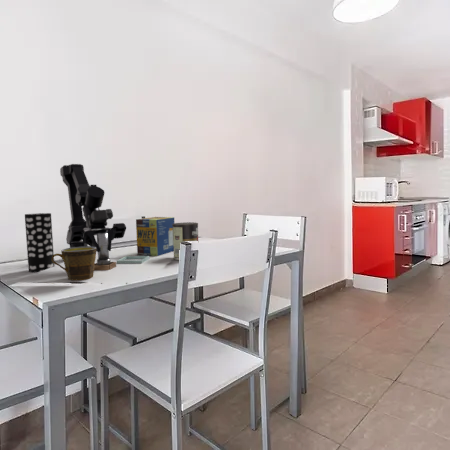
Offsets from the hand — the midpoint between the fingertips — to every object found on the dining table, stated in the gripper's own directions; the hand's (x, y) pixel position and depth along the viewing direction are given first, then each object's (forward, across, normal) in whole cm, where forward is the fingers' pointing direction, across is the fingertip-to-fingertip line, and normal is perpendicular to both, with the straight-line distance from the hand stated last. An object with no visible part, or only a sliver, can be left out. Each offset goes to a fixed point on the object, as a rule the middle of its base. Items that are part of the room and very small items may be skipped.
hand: (104, 250), depth 128 cm
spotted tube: (-8, -17, +18) cm, 26 cm away
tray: (0, +13, +10) cm, 17 cm away
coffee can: (+2, +34, +8) cm, 35 cm away
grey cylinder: (+3, 0, +5) cm, 6 cm away
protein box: (-12, +31, +23) cm, 40 cm away
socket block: (+4, 0, +6) cm, 7 cm away
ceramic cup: (+12, -12, -2) cm, 17 cm away
